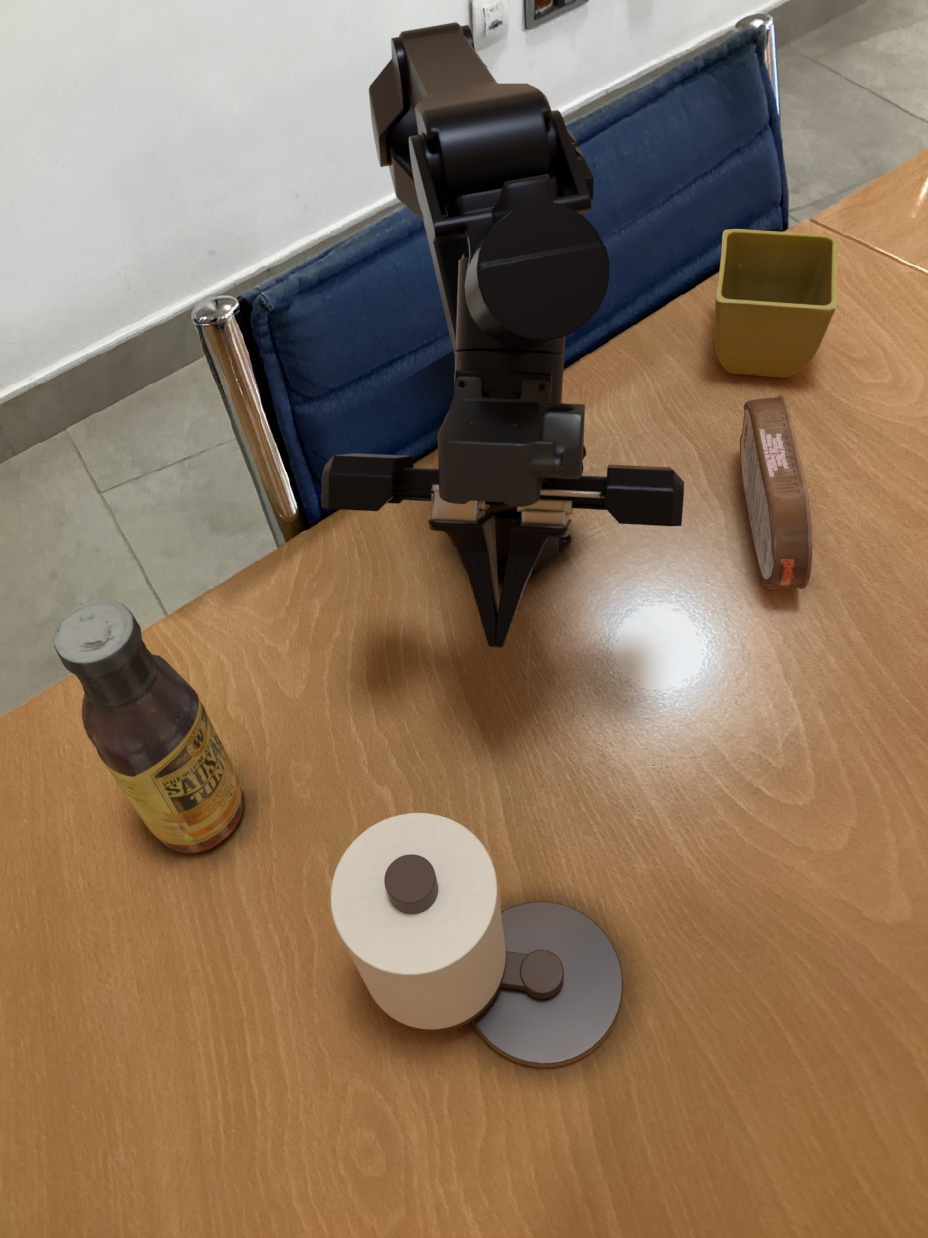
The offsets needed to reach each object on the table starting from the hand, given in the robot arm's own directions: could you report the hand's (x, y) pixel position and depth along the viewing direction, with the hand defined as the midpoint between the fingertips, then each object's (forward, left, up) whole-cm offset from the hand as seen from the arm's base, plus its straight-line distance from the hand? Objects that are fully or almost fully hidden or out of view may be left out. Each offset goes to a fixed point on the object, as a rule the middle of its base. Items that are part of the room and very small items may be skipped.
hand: (496, 646), depth 58 cm
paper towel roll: (+9, -12, -11) cm, 18 cm away
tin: (0, +26, -13) cm, 29 cm away
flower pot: (-12, +40, -13) cm, 44 cm away
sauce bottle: (-10, -17, -13) cm, 24 cm away
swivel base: (+12, -8, -13) cm, 19 cm away
